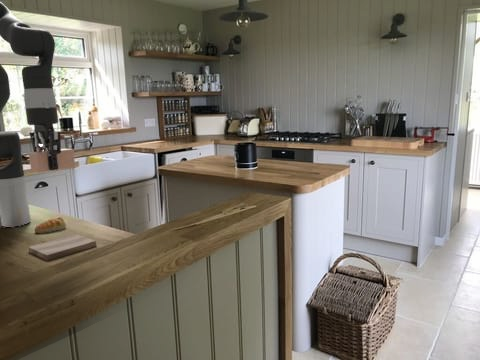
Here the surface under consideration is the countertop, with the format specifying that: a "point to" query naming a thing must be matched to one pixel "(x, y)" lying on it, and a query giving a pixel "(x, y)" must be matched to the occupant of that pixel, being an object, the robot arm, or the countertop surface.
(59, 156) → the tall block
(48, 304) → the countertop surface
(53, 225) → the pastry
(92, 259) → the countertop surface
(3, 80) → the robot arm
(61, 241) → the walnut board
